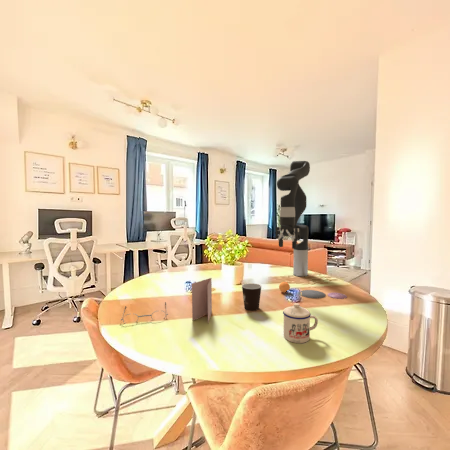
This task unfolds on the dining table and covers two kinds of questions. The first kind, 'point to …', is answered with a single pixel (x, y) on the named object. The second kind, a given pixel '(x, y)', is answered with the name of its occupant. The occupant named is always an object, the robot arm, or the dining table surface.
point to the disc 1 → (313, 294)
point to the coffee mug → (251, 296)
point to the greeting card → (202, 299)
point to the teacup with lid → (297, 324)
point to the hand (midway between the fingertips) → (287, 247)
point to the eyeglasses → (143, 315)
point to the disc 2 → (337, 295)
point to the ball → (284, 287)
